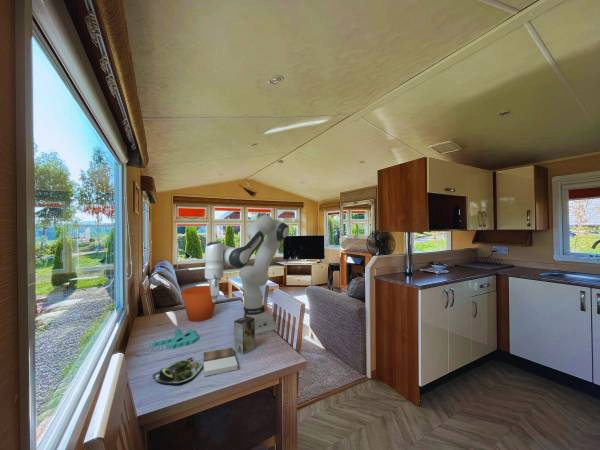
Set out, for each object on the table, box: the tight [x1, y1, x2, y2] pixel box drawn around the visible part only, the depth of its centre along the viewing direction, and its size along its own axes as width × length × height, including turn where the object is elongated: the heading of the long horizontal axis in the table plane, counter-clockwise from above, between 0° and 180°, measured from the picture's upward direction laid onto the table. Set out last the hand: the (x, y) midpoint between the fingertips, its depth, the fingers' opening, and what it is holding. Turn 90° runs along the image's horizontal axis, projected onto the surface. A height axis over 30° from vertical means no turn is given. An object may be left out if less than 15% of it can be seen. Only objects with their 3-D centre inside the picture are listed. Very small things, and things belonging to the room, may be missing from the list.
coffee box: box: [233, 316, 256, 356], centre depth 133 cm, size 9×6×16 cm
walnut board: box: [203, 347, 236, 363], centre depth 124 cm, size 14×9×2 cm, turn 112°
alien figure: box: [151, 328, 200, 350], centre depth 145 cm, size 20×2×20 cm
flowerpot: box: [180, 285, 218, 323], centre depth 180 cm, size 25×25×20 cm
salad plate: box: [151, 357, 203, 387], centre depth 113 cm, size 19×18×5 cm
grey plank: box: [203, 356, 239, 377], centre depth 116 cm, size 14×9×2 cm, turn 112°
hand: (214, 301), depth 127 cm, fingers closed
